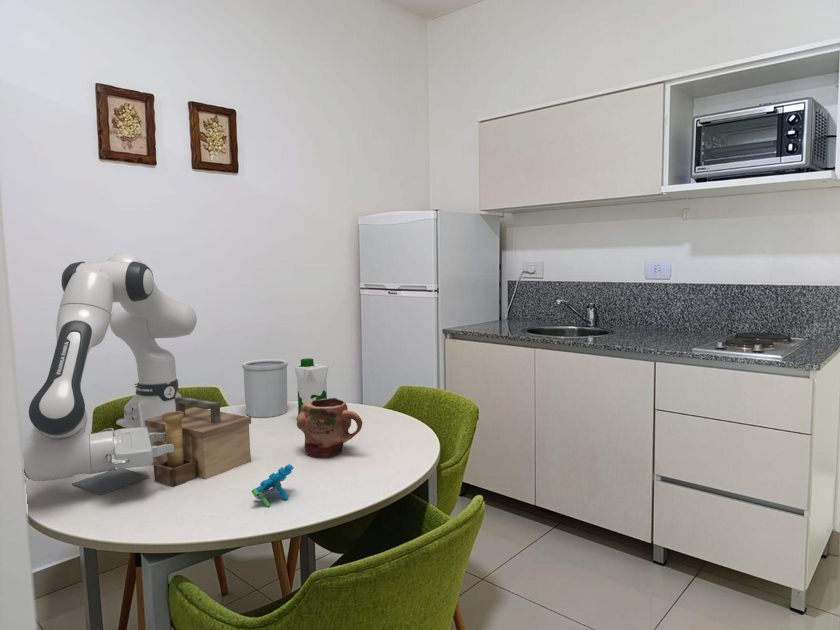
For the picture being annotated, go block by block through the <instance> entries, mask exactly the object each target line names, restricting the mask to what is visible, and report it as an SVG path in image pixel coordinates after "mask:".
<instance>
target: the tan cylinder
mask: <svg viewBox="0 0 840 630" xmlns="http://www.w3.org/2000/svg"><path fill="white" fill-rule="evenodd" d="M183 418H184V412H181V411H174V412H168V413H164V414H162V421H164V422H165V430H166V443H173V445H174V451H173V452H169V453H167V461H168V467H171V468H175V467H178V466H181V465H183V464H184V454H183V438H182V422H181V420H182V419H183Z"/></svg>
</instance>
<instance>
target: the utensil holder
mask: <svg viewBox="0 0 840 630" xmlns="http://www.w3.org/2000/svg"><path fill="white" fill-rule="evenodd" d="M242 369H243V385H244V387H243V389H244V404H245V405H244V406H245V414H246V416H247V417H251V418H259V419H260V418H261V419H262V418H273V417H279V416H282V415H284V414H285V413H287V412H288V361H287V360H286V359H280V358H278V359H277V358H262V359H252V360H247V361H244V362H242Z"/></svg>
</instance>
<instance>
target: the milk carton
mask: <svg viewBox="0 0 840 630" xmlns="http://www.w3.org/2000/svg"><path fill="white" fill-rule="evenodd" d="M314 362H315V361H314V359H313V358H309V357H308V358H302V359H300V365H298V366H295V367H294V371H295V378H296V385H297V408H298V410H297V411H298V412H297V416H298V415H299V414H300V410H301V406H302V405H303V404H304V403H306V402H308V401H311V400H321V399H328V392H327V391H328V390H327V378H328V377H327V375H328V371H329V366H328V365H324V364H320V363H314Z"/></svg>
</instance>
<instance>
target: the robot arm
mask: <svg viewBox="0 0 840 630" xmlns="http://www.w3.org/2000/svg"><path fill="white" fill-rule="evenodd" d="M60 282H61V287H62V291H63V294H62V296H61V300H60V304H59V309H58V313H57V317H56V319H57V320H56V325H55V328H56V329H55V330H56V331H55V332H56V333H55V335H56V336H55V337H56V345H55V349H54V350H55V351H54V354H53V357H52V361H51V364H50V368H49V372H48V375H47V379H46V380H45V382H44V383H43V385H42V387H41V388H40V389H39V390H38V391H37V393H36V394H35V395H34V396H33V398H32V400H30V403H29V406H28V417H29V420H30V422H31V424H32V426H33V428H32V429H31V431H30V434H29V435H28V437H27V439H26V441H25V442H24V443H23V445H22V446H23V458H24V473H25V474H24V473H23V474H24V476H25V477H26V478H27V479H28V480H30V481H34V482H46V481H57V480H64V479H71V478H72V477H75V476H77V475H82V474H83V475H84V474H85V475H93V474H101V473H105V472H108V471H112V470H115V469H117V468H118V469H134V468H142V467H147V466H151V465H153V464H152V463H153V457H157V456H160V455H163V454H165V453H169V452H173V451H174V445H173V443H166V444H165V445H161V446H151V443H153V442H156V441H163V442H164V441H166V433H148V427H147V426H145V420H147V419H150V418H154V417H158V416H162V414H164V413H168V412H174V411H176V405H175V397H179V396H181V397H182V395H181V393H179V392H178V391H179V379H177V370H176V369H177V368H176V357H175V356H174V354H173V353H172V352H171V351H169V349H168V350H167V349H165V348H163V347H161V346H159V344H158V343H157V341H156V339H175V338H180V337H184V336H188V335H191V333H193V332H194V330H195V328H196V325H197V320H198V319H197V315H196V311H195V310H194V309H193V308H192V307H191V306H190V305H189V304H185V303H182V302H179V301H176V300H175V299H173V298H171V297H169V296H168V295H166V294H165V293H164V292H162V290H160V289H159V287H158V285H157V284H156V283H155V279H154V273H153V271H152V269H151V268H150V267H149V266H148V265H147V264H146V263H143V262H142V261H141V260H140V259H139V258H138V257H137V256H136V255H134V254H132V253H129V252H118V253H115V254H114V255H112V256H110V257H109V258H108V259H107V260H99V261H98V260H97V261H87V262H85V261H77V262H74V263H70V264H69V265H68V266H67V267H66V268H65V269H64V270H63V272H62V275H61V281H60ZM113 303H119V304H120V305H121V306H117V307H115V309H114V310H113ZM108 328H110V330H111V332H112V333H113V334H114V335H115V336H116V337H117V338H119V339H120V340H122V341H123V342H124V343H125V344H126V345H127V346H128V347H129V349H130V350H131V352H132V353H133V356H134V358H135V359H134V360H135V363H136V368H137V378H138V382H137V383H134V384H133V385H135V386H134V388H135V395H133V396H132V398H131V399H130V400H129V401H127V403H126V404H125V405H124V407H123V417H122V418H119V419H118V420H116V423H115V424H116V425H118V426H120V427H122V428H120V429H119V428H118V429H115V430H114V428H113V427H110V428H104V429H102V430H101V431H99V432H93V433H87V434H86V433H85V431H86V427H87V423H88V413H87V410H86V404H85V400H84V396H83V392H82V391H81V390H82V389H81V386H82V385H81V384H82V383H81V382H82V381H83V380H82V379H83V374H84V371H85V367H86V362H87V357H88V354H89V352H90V351H91V349H92V348H94V347H97V346H99V344H101V343H102V342H103V341H104V338H105V336H106V335H107V332H108Z"/></svg>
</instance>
